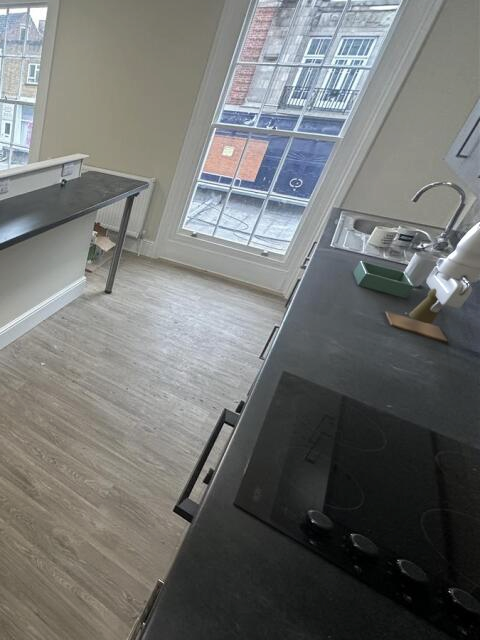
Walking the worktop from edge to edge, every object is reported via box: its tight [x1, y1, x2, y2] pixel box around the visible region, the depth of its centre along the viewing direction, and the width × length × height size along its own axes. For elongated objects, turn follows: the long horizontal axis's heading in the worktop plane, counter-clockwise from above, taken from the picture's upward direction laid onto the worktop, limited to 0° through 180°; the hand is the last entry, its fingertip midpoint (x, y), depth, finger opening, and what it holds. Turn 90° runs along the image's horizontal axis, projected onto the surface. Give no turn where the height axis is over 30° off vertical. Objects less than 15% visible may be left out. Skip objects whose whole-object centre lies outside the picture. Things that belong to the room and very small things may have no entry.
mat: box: [384, 311, 448, 343], centre depth 136 cm, size 14×10×1 cm
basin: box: [352, 260, 416, 299], centre depth 161 cm, size 15×15×6 cm
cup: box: [403, 252, 441, 287], centre depth 164 cm, size 8×8×12 cm
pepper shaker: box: [408, 289, 442, 325], centre depth 132 cm, size 6×6×11 cm
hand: (430, 307), depth 132 cm, fingers closed on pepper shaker, 4 cm apart
